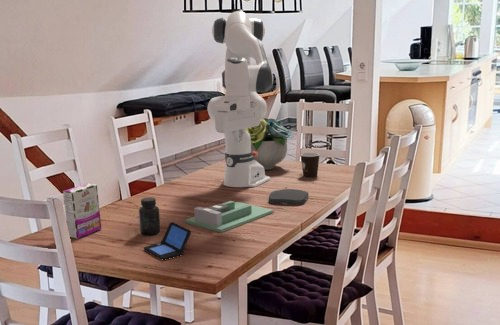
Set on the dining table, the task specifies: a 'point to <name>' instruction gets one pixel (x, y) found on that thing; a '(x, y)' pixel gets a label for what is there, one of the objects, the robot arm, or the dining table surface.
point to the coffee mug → (310, 164)
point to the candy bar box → (82, 210)
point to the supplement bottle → (149, 217)
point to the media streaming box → (288, 197)
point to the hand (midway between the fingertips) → (238, 141)
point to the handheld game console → (170, 242)
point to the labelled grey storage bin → (220, 208)
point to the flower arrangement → (269, 142)
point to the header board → (235, 222)
